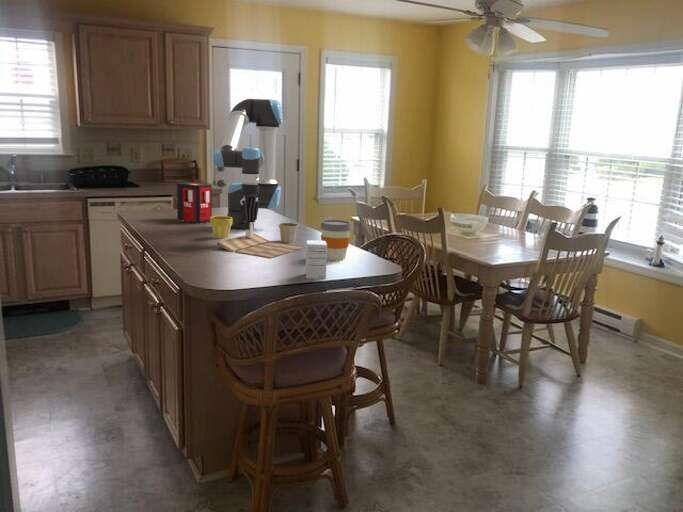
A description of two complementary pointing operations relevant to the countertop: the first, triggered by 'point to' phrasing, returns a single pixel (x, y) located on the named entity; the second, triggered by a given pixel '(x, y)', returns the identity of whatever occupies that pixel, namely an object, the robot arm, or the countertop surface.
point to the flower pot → (288, 232)
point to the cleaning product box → (194, 202)
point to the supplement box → (316, 259)
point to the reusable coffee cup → (336, 238)
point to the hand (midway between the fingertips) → (249, 236)
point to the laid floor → (270, 250)
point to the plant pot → (221, 226)
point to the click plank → (242, 242)
